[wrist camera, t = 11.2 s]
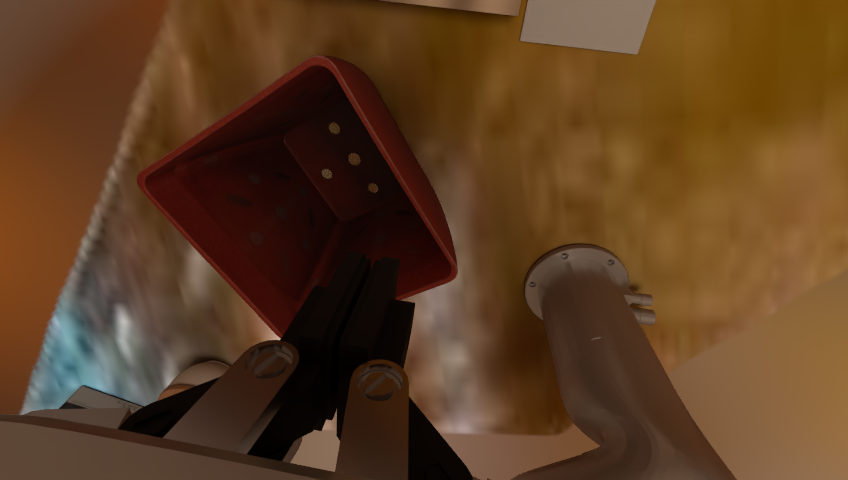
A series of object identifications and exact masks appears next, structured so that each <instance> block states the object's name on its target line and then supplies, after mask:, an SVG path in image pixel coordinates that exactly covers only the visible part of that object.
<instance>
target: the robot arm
mask: <svg viewBox="0 0 848 480" xmlns="http://www.w3.org/2000/svg"><path fill="white" fill-rule="evenodd" d="M399 264H400V260H399V259H395V258H390V257H384V256H383V257H382V259H381V260H375V262H374V264H373V266H372V268H371V259H369V258H366V254H365V253H361V252H355V251H347V253H346V254H345V256H344V258H343V260H342V261H341V263H340V265H339V267H338V268H337V270H336V272H335V273H334V275H333V277H332V279H331V280H330V282H329V284H328V286H327V287H322V286H317V285H316V286H314V287H313V289H312V290H311V292H310V293H309V295H308V296H307V298H306V300H305V301H304V303H303V304H302V306H301V308H300V309H299V311H298V312H297V314H296V316H295V317H294V319H293V320H292V322H291V324H290V325H289V327H288V328H287V330H286V331H285V333H284V335H283V336H282V338H281V339H280V340H268V341H264V342H260V343H258V344H256V345H254V346H252V347H250V348H249V349H248V350H246V351H245V352H244V353H243V354H242V355H241V356H240V357H239V358H238V359H237V360H236V361H235V362H234V363H233V364H232V365H231V367H230V368H229V369H228V370H227V371H226V372H225V373H224V374H223V375H222V376H220V377H218V378H215V379H213V380H210V381H208V382H205V383H202V384H200V385H197V386H195V387H192V388H190V389H187V390H184V391H182V392H179V393H177V394H174V395H171V396H169V397H166V398H164V399H161V400H159V401H156V402H153V403H151V404H149V405H147V406H145V407H143V408H141V409H139V410H137V411H136V412H131V411H130V408H92V409H45V410H38V411H32V412H29V413H27V414H24V415H8V414H7V415H6V414H0V480H480V479H477V478H475V477H473V476H472V475H471V473H470V472H469V470H468V468H467V467H466V465H465V464H464V463H463V462H462V460H461V459H460V458H459V457H458V456H457V454H456V453H455V452H454V451H453V450H452V448H451V447H450V446H449V445H448V443H447V442H446V441H445V440H444V439H443V438H442V436H441V435H440V434H439V432H438V431H437V430H436V429H435V428H434V426H433V425H432V424H431V423H430V421H429V420H428V419H427V418H426V417H425V415H424V414H423V413H422V412H421V411H420V409H419V408H418V407H417V406H416V404H415V403H414V402H413V401H412V400H411V398H410V397H409V381H408V376H407V374H406V373H405V371H404V370H403V368H404V363H405V359H406V354H407V350H408V345H409V340H410V335H411V329H412V323H413V316H414V309H415V303H412V302H406V301H401V300H396V291H397V282H398V273H399ZM524 291H525V297H526V301H527V304H528V306H529V308H530V309H531V311H532V312H533V313H534V314H535V315H536V316H537V317H538V318H540V319H541V320H543V321H544V325H545V329H546V334H547V338H548V342H549V346H550V351H551V355H552V359H553V363H554V368H555V372H556V376H557V381H558V385H559V389H560V393H561V397H562V401H563V404H564V407H565V409H566V411H567V413H568V415H569V417H570V418H571V420H572V421H573V422H574V424H575V425H576V426H577V427H578V428H579V429H580V430H581V431H582V432H583V433H584V434H585V435H587V436H588V437H589V438H591V439H592V440H593V441H595V442H596V443H597V444H599V445H600V447H598V448H596V449H593V450H591V451H588V452H585V453H583V454H582V455H578V456H575V457H572V458H569V459H565V460H562V461H559V462H555V463H552V464H549V465H546V466H542V467H539V468H536V469H533V470H530V471H527V472H524V473H522V474H519V475H517V476H516V477H514V478H512V479H511V480H737V479H736V478H735V477H734V475H733V474H732V473H731V471H730V470H729V469H728V467H727V466H726V465H725V463H724V462H723V461H722V459H721V458H720V457H719V455H718V454H717V453H716V451H715V450H714V449H713V447H712V446H711V445H710V443H709V442H708V441H707V439H706V438H705V436H704V435H703V433H702V432H701V430H700V429H699V427H698V426H697V425H696V423H695V421H694V420H693V419H692V417H691V416H690V414H689V412H688V411H687V409H686V407H685V406H684V404H683V402H682V400H681V399H680V397H679V396H678V394H677V392H676V390H675V389H674V387H673V385H672V383H671V381H670V379H669V378H668V376H667V374H666V372H665V370H664V368H663V367H662V365H661V363H660V361H659V359H658V357H657V355H656V354H655V352H654V350H653V348H652V346H651V344H650V342H649V340H648V339H647V337H646V335H645V333H644V331H643V329H642V327H641V326H640V324H645V325H653V324H654V323H655V319H656V315H655V312H654V311H653V310H650V309H642V308H631V307H630V305H631V304H632V303H634V304H638V305H645V306H651V304H652V302H653V298H652V296H651V295H648V294H641V293H639V294H637V293H633V292H632V291H631V290H630V289H629V278H628V274H627V271H626V269H625V267H624V265H623V264H622V263H621V261H620V260H619V258H617V257H616V256H615V255H614V254H613V253H611V252H609V251H608V250H606V249H604V248H601V247H597V246H594V245H586V244H577V245H569V246H564V247H561V248H558V249H555V250H553V251H551V252H549V253H547V254H546V255H544V256H543V257H542V258H540V259H539V260H538V261H537V262H536V263H535V264H534V265H533V266H532V268H531V269H530V271H529V272H528V274H527V277H526V280H525V286H524ZM336 409H337V437H338V438H339V440H340V446H339V452H338V457H337V464H336V470H335V472H332V471H327V470H321V469H317V468H311V467H306V466H302V465H297V464H292V463H290V462H291V461H292V459H293V457H294V455H295V454H296V452H297V450H298V449H299V447H300V444H301V442H302V436H304V435H306V434H308V433H310V432H312V431H313V430H318V431H322V428H323V426H324V423H325V421H326V419H328V420H332V419H333V417H334V415H335V412H336ZM487 480H490V479H487Z"/></svg>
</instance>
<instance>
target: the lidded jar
mask: <svg viewBox="0 0 848 480" xmlns="http://www.w3.org/2000/svg"><path fill="white" fill-rule="evenodd" d="M229 368H230V366H228V365H227V364H225V363H223V362H220V361H214V360H212V361H207V362H203V363H198V364H195V365H193V366H190V367H189V368H187V369H185V370H184V371H183V372H181V373H180V374H179V375H178V376H177V377H176V378H175V379H174V380H173V381H172V382H171V383H170V385H169V386H168V387H167V388H166V389H165V390H164V391H163V392H162V393H161V394H160V396H159V398H158V401H159V400H161V399H164V398H166V397H169V396H171V395H174V394H177V393H179V392H182V391H184V390H187V389H190V388H192V387H195V386H197V385H200V384H202V383H205V382H208V381H210V380H213V379H215V378H218V377H220V376H222V375H223V374H224V373H225V372H226V371H227V370H228V369H229Z"/></svg>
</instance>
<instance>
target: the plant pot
mask: <svg viewBox="0 0 848 480" xmlns="http://www.w3.org/2000/svg"><path fill="white" fill-rule="evenodd" d="M332 122H335V123H337V124H338V125H339V127H340V132H339V134H336V135H334V134H332V133H330V132H329V129H328V126H329V124H330V123H332ZM351 153H356V154H358V155H359V156H360V159H361V162H360V164H359V165H358V166H352V165H350V164H349V163H348V155H349V154H351ZM323 169H329V170H330V171H331V172H332V178H331V179H329V180H327V179H324V178H323V177H322V176H321V171H322V170H323ZM370 183H374V184H376V185H377V186H378V192H377V193H374V194H372V193H370V192H369V191H368V188H367V187H368V185H369V184H370ZM137 184H138V186H139V188H140V190H141V191H142V192H143V193H144V194H145V195H146V197H147V198H148V199H149V200H150V201H151V202H152V203H153V204H154V205H155V206H156V208H157V209H158V210H159V211H160V212H161V213H162V214H163V215H164V216H165V217H166V218H167V219H168V220H169V221H170V222H171V223H172V224H173V226H174V227H175V228H176V229H177V230H178V231H179V232H180V233H181V234H182V235H183V236H184V237H185V238H186V239H187V240H188V241H189V243H190V244H191V245H192V246H193V247H194V248H195V249H196V250H197V251H198V252H199V253H200V254H201V255H202V257H203V258H204V259H205V260H206V261H207V262H208V263H209V264H210V265H211V266H212V267H213V268H214V269H215V270H216V271H217V272H218V273H219V274H220V275H221V277H222V278H223V279H224V280H225V281H226V282H227V283H228V284H229V285H230V286H231V287H232V288H233V289H234V290H235V291H236V292H237V293H238V294H239V296H240V297H241V298H242V299H243V300H244V301H245V302H246V303H247V304H248V305H249V306H250V307H251V308H252V309H253V310H254V311H255V312H256V313H257V315H258V316H259V317H260V318H261V319H262V320H263V321H264V322H265V323H266V324H267V325H268V326H269V328H270V329H271V330H272V331H273V332H274V333H275V334H276V335H277V336H279V337H280V338H282V336H283V335H284V333H285V331H286V330H287V328H288V327H289V325H290V324H291V322H292V320H293V319H294V317H295V316H296V314H297V312H298V311H299V309H300V308H301V306H302V304H303V303H304V301H305V300H306V298H307V296H308V295H309V293H310V292H311V290H312V289H313V287H314V286H316V285H317V286H322V287H327V286H328V284H329V282H330V280H331V279H332V277H333V275H334V273H335V272H336V270H337V268H338V267H339V265H340V263H341V261H342V260H343V258H344V256H345V254H346V253H347V251H355V252H361V253H365V254H366V258H369V259H371V268H372V266H373V264H374V262H375V260H381V259H382V257H383V256H384V257H390V258H395V259H399V260H400V264H399V273H398V282H397V291H396V300H402V299H405V298H407V297H410V296H413V295H416V294H418V293H421V292H424V291H426V290H429V289H432V288H435V287H437V286H440V285H443V284H446V283H448V282H450V281H452V280H453V279H455V277H456V276H457V273H458V268H457V260H456V255H455V251H454V246H453V242H452V238H451V234H450V230H449V227H448V224H447V221H446V217H445V215H444V212H443V209H442V207H441V204H440V202H439V200H438V198H437V195H436V193H435V191H434V189H433V187H432V186H431V184H430V182H429V180H428V178H427V177H426V175H425V173H424V171H423V170H422V168H421V166H420V165H419V163H418V161H417V159H416V158H415V156H414V154H413V152H412V151H411V149H410V147H409V146H408V144H407V142H406V140H405V139H404V137H403V135H402V133H401V132H400V130H399V128H398V126H397V125H396V123H395V121H394V119H393V118H392V116H391V114H390V112H389V111H388V109H387V107H386V105H385V104H384V102H383V100H382V98H381V97H380V95H379V93H378V91H377V89H376V88H375V86H374V84H373V83H372V81H371V80H370V79H369V77H368V76H367V75H366V74H365V73H364V72H363V71H361V70H360V69H359V68H358V67H356V66H354V65H353V64H351V63H349V62H347V61H344V60H341V59H338V58H334V57H331V56H323V55H315V56H311V57H309V58H308V59H306V60H305V61H303V62H302V63H300V64H299V65H297V66H296V67H295V68H293V69H292V70H290V71H289V72H287V73H286V74H285V75H283V76H282V77H280V78H279V79H277V80H276V81H275V82H273V83H272V84H270V85H269V86H268V87H266V88H265V89H263V90H262V91H260V92H259V93H257V94H256V95H254V96H253V97H252V98H250V99H249V100H247V101H246V102H244V103H243V104H241V105H240V106H239V107H237V108H236V109H234V110H233V111H231V112H230V113H228V114H227V115H225V116H224V117H222V118H221V119H219V120H218V121H216V122H215V123H213V124H212V125H210V126H209V127H207V128H206V129H204V130H203V131H201V132H200V133H198V134H197V135H195V136H194V137H192V138H191V139H189V140H188V141H186V142H185V143H183V144H182V145H180V146H179V147H177V148H176V149H174V150H173V151H171V152H170V153H168V154H167V155H165V156H163V157H162V158H160V159H159V160H157V161H156V162H154V163H153V164H151V165H150V166H148V167H147V168H145V169H143V170H142V171H140V172H139V174H138V175H137Z"/></svg>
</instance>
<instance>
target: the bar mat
mask: <svg viewBox="0 0 848 480" xmlns="http://www.w3.org/2000/svg"><path fill="white" fill-rule="evenodd" d="M655 1H656V0H528V1H527V6H526V11H525V16H524V21H523V26H522V31H521V36H520V41H525V42H534V43H542V44H551V45H560V46H568V47H577V48H585V49H594V50H603V51H611V52H620V53H628V54H638V51H639V48H640V45H641V42H642V39H643V37H644V34H645V31H646V28H647V25H648V22H649V19H650V16H651V13H652V10H653V7H654V4H655Z"/></svg>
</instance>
